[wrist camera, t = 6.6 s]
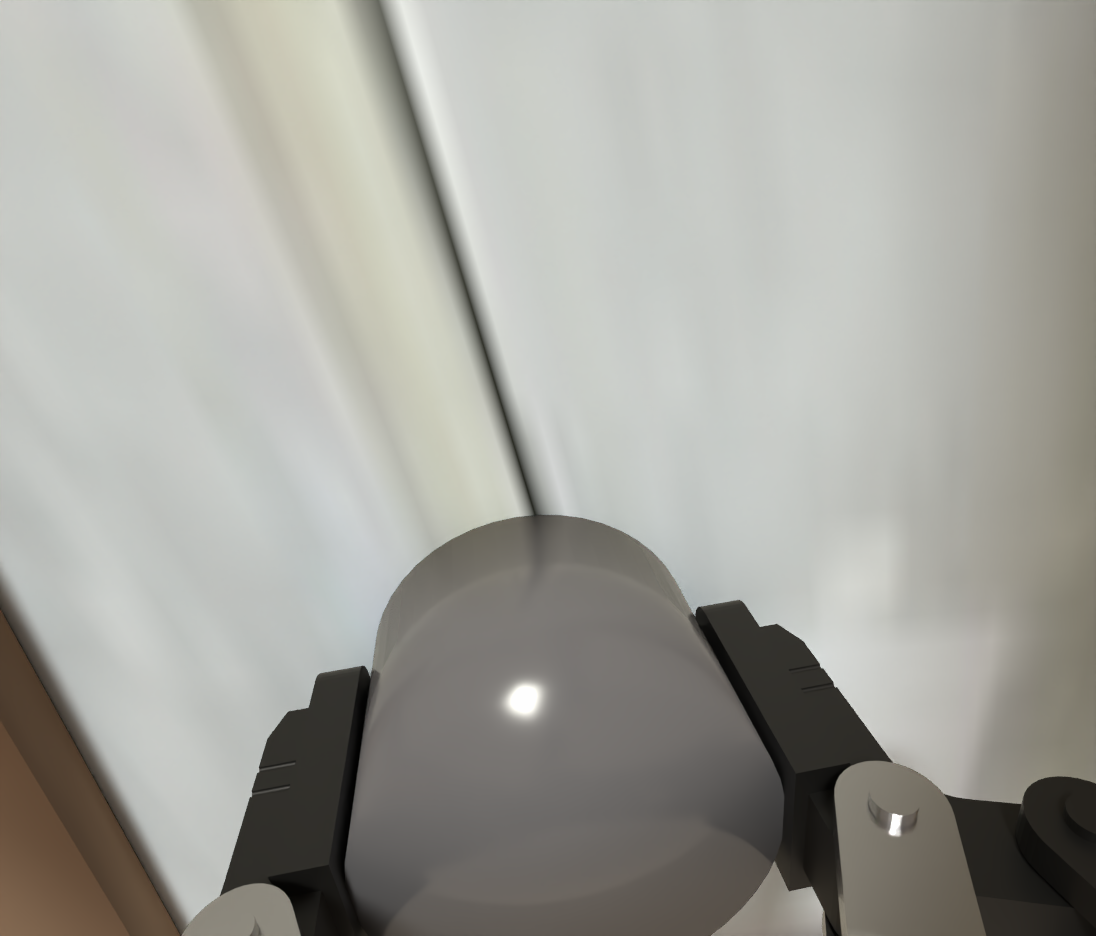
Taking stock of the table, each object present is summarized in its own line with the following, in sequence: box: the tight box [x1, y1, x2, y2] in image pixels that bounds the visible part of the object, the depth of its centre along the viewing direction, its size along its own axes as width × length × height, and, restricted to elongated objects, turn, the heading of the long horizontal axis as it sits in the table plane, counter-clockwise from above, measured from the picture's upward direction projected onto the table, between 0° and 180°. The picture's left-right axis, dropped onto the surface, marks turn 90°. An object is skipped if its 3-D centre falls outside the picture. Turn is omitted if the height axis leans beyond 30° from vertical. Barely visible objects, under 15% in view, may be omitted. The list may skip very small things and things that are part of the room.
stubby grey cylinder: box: [345, 515, 784, 936], centre depth 11 cm, size 6×6×4 cm
